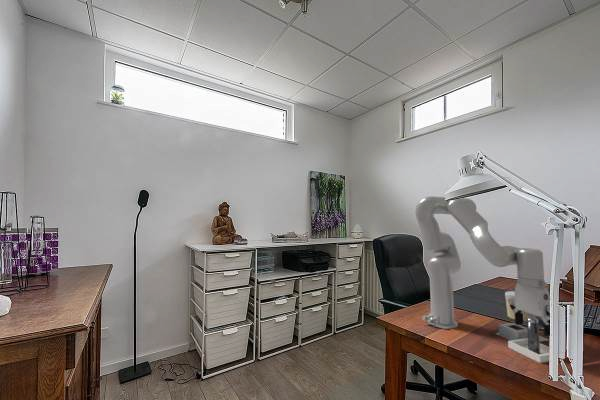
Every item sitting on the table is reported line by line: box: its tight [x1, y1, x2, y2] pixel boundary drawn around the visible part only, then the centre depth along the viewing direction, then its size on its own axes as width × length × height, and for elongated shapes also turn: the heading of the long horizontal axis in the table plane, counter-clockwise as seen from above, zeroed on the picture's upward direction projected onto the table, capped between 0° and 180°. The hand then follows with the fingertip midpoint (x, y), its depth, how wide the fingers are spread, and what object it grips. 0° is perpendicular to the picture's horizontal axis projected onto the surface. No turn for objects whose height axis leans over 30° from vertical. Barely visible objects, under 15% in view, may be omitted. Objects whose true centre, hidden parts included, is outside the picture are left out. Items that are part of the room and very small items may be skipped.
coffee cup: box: [504, 290, 529, 323], centre depth 130 cm, size 9×9×12 cm
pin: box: [526, 316, 540, 354], centre depth 97 cm, size 3×3×12 cm
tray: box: [507, 338, 550, 364], centre depth 97 cm, size 10×11×3 cm
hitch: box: [494, 314, 550, 343], centre depth 110 cm, size 16×10×14 cm, turn 103°
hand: (532, 329), depth 97 cm, fingers open, 9 cm apart
